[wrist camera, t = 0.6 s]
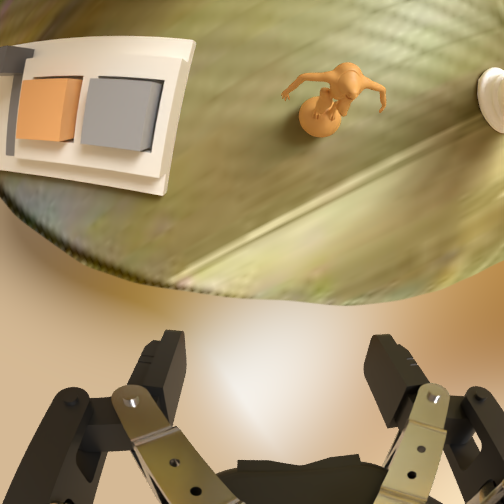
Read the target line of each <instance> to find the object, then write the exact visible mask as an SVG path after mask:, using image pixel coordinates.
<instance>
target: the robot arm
mask: <svg viewBox="0 0 504 504" xmlns="http://www.w3.org/2000/svg"><path fill="white" fill-rule="evenodd" d="M185 374H186V349H185V338H184V332H183V331H176V330H165V332H164V335H163V337H162V339H161V341H156V340H153V341H151V342H150V343H149V344H148V345H146V346H145V348H144V350H143V352H142V354H141V356H140V358H139V360H138V363H137V364H136V366H135V368H134V371H133V373H132V375H131V377H130V379H129V381H128V383H127V385H125V386H122V387H120V388H118V389H117V390H115V391H114V393H113V394H112V396H111V397H105V398H89V395H88V393H87V392H86V391H85V390H83V389H81V388H77V387H70V388H66V389H63V390H61V391H60V392H58V394H57V395H56V396H55V398H54V399H53V401H52V403H51V405H50V407H49V408H48V410H47V412H46V414H45V416H44V418H43V419H42V421H41V423H40V425H39V427H38V429H37V431H36V433H35V435H34V437H33V439H32V441H31V442H30V444H29V446H28V449H27V451H26V452H25V455H24V457H23V459H22V461H21V463H20V465H19V467H18V469H17V471H16V474H15V476H14V478H13V480H12V482H11V485H10V487H9V489H8V492H7V494H6V496H5V499H4V501H3V504H93V501H94V497H95V493H96V490H97V487H98V483H99V479H100V476H101V473H102V469H103V466H104V462H105V459H106V456H107V453H108V451H126V450H130V452H131V454H132V456H133V457H134V460H135V461H136V463H137V465H138V467H139V469H140V470H141V472H142V474H143V475H144V477H145V479H146V480H147V482H148V483H149V485H150V487H151V489H152V491H153V493H154V494H155V496H156V498H157V500H158V501H159V503H160V504H442V503H441V502H439V501H437V500H436V499H434V498H432V497H430V496H429V493H430V490H431V487H432V484H433V481H434V478H435V475H436V472H437V469H438V465H439V462H440V458H441V454H442V450H443V451H444V453H445V455H446V457H447V459H448V462H449V464H450V467H451V469H452V471H453V474H454V476H455V479H456V481H457V484H458V486H459V489H460V491H461V494H462V496H463V499H464V501H465V504H504V412H503V410H502V408H501V407H500V405H499V404H498V403H497V401H496V400H495V398H494V397H493V396H492V394H491V393H490V392H489V391H488V390H486V389H485V388H482V387H478V386H475V387H471V388H469V389H468V390H467V392H466V394H465V396H450V395H449V393H448V391H447V390H446V389H445V388H444V387H442V386H440V385H438V384H433V383H430V382H429V381H428V379H427V378H426V376H425V375H424V373H423V372H422V370H421V369H420V367H419V366H418V365H417V363H416V361H415V360H414V359H413V357H412V355H411V354H410V352H409V351H408V350H407V349H405V348H404V347H403V346H401V345H400V344H398V345H397V344H396V342H395V341H394V339H393V338H392V336H391V335H390V334H382V335H373V336H372V338H371V341H370V345H369V348H368V352H367V355H366V359H365V362H364V375H365V378H366V380H367V382H368V385H369V387H370V389H371V391H372V394H373V396H374V398H375V400H376V403H377V405H378V407H379V410H380V412H381V414H382V417H383V419H384V421H385V423H386V426H387V428H393V427H398V429H399V431H398V433H397V435H396V437H395V439H394V441H393V444H392V446H391V448H390V450H389V452H388V455H387V457H386V459H385V461H384V463H383V465H382V467H381V466H378V465H375V464H372V463H366V462H361V461H360V458H359V454H355V455H346V456H338V457H330V458H327V459H323V460H320V461H317V462H313V463H310V464H306V465H300V466H299V465H291V464H286V463H280V462H274V461H269V460H259V461H258V460H238V464H237V465H238V466H237V468H234V469H229V470H225V471H222V472H219V473H217V474H215V473H214V472H213V470H212V469H211V468H210V467H209V466H208V465H207V463H206V462H205V461H204V460H203V458H202V457H201V456H200V455H199V453H198V452H197V451H196V450H195V448H194V447H193V446H192V444H191V443H190V442H189V441H188V439H187V438H186V437H185V435H184V434H183V433H182V432H181V430H180V429H179V428H178V427H177V426H175V427H172V426H173V422H174V418H175V413H176V409H177V405H178V402H179V398H180V394H181V390H182V386H183V382H184V378H185ZM475 432H476V433H477V435H478V437H479V439H480V440H481V443H482V449H481V452H480V451H479V449H478V447H477V445H476V443H475V442H474V439H473V437H472V436H473V434H474V433H475Z"/></svg>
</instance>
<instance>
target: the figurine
mask: <svg viewBox="0 0 504 504" xmlns="http://www.w3.org/2000/svg"><path fill="white" fill-rule="evenodd" d="M306 80H308V81H324V82H328V83H329V84H330V89H329V88H321V90H320V96H317V97H312V98H310V99H308V100H306V101H305V102H304V103H303V104H302V106H301V108H300V110H299V121H300V124H301V126H302V128H303V129H304V130H305V131H306V132H307V133H308V134H310V135H312V136H315V137H327V136H330V135H332V134H333V133H334V132H335V131H336V130H337V129H338V128H339V126H340V123H341V116H343V117H344V116H346V115H347V111H348V109H349V107H350V104H351V102H352V101H353V100H354V99H355V98H357V96H358V95H359V94H360V93H361V92H362V91H363V90H364V89H366V88H368V89H371V90H375V91H379V92H380V101H381V104H382V107H381V109H380V110H379V113H381V112H382V111H383V110H384V108H385V107H386V96H385V94H386V89H385V87H384V86H382V85H380V84H378V83H376V82H373V81H371V80H370V79H369V78H367V77H365V76H364V75H363V74H362V72H361V70H360V68H359V67H358V66H356V65H355V64H353V63H342V64H340V65H338V66H337V67H336V68H335V69H334V70H332V71H328V72H323V73H304V74H301V75H299V76H298V77H297V79H296V80H295V81H294V82H293V83H292V84H291V85H289V87H288V88H287V89H286V90H284V91H283V92H282V94H281V96H282V95H283V97H282V99H283V98H284V97H285V101H286V98H287V97H288V99H289V100H290V97H289V93H290V92H291V91H293V90H295V89H296V88H297V87H298V86H299V85H300V84H301V83H303V82H304V81H306ZM332 98H334V99H336V100H338V101H335V102H333V101H332Z"/></svg>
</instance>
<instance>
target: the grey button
mask: <svg viewBox="0 0 504 504" xmlns="http://www.w3.org/2000/svg"><path fill="white" fill-rule="evenodd" d="M162 86H163V85H162V84H159V83H155V82H150V81H138V80H123V79H101V78H90V82H89V87H88V92H87V98H86V104H85V111H84V118H83V125H82V133H81V142H80V144H88V145H96V146H105V147H113V148H120V149H128V150H135V151H142V150H144V149H147V148H150V147H151V145H152V139H153V133H154V127H155V122H156V116H157V111H158V106H159V101H160V96H161V91H162Z"/></svg>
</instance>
